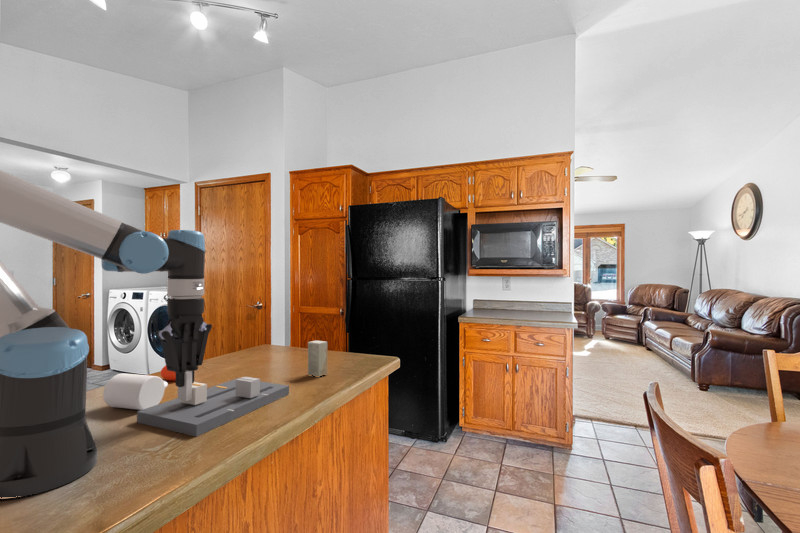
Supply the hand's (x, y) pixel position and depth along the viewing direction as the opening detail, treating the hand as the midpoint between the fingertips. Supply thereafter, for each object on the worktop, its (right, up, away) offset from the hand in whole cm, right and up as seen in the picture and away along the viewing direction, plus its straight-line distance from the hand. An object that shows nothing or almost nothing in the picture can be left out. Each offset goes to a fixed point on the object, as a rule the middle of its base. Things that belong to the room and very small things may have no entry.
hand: (184, 399), depth 90 cm
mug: (-15, -4, +8) cm, 17 cm away
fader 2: (+11, -2, +8) cm, 14 cm away
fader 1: (+1, -1, +2) cm, 3 cm away
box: (+23, -5, +38) cm, 44 cm away
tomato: (-19, -4, +30) cm, 36 cm away
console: (+5, -4, +7) cm, 10 cm away
